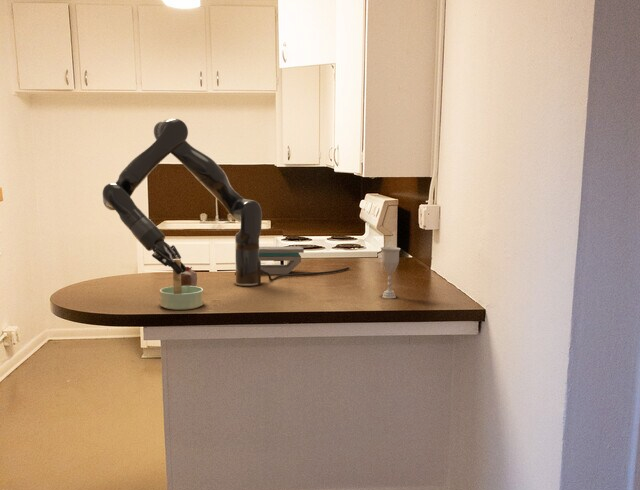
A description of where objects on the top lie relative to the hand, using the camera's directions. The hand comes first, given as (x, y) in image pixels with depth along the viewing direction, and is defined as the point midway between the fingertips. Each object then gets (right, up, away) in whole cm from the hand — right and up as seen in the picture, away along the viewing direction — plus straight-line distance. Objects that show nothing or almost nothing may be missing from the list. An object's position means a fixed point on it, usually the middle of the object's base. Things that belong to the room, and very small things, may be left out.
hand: (182, 271), depth 219 cm
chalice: (+71, -9, +24) cm, 75 cm away
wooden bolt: (-2, -11, +3) cm, 11 cm away
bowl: (-1, -11, +4) cm, 12 cm away
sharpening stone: (+25, +1, +69) cm, 73 cm away
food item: (-4, -7, +25) cm, 26 cm away
